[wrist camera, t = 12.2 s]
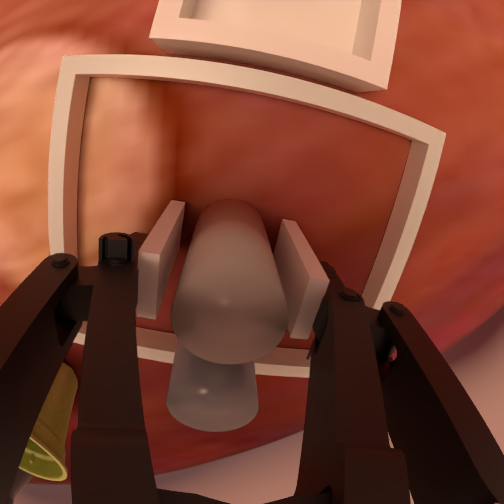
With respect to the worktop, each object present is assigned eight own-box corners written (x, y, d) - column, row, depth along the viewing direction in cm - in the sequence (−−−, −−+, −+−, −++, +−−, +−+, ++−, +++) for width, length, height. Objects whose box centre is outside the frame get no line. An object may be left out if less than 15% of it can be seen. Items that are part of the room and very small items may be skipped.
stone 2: (242, 331, 20) (248, 434, 13) (183, 323, 20) (165, 425, 12) (253, 280, 19) (268, 383, 11) (189, 270, 18) (167, 371, 11)
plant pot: (20, 388, 22) (-13, 453, 14) (-7, 312, 19) (-62, 381, 11) (102, 414, 24) (80, 492, 16) (87, 339, 20) (43, 434, 12)
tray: (344, 361, 22) (351, 378, 20) (71, 323, 19) (61, 339, 18) (428, 130, 15) (446, 133, 14) (78, 60, 12) (63, 56, 11)
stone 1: (256, 268, 18) (273, 369, 11) (190, 258, 18) (168, 355, 10) (271, 205, 17) (303, 279, 9) (200, 193, 16) (175, 260, 9)
